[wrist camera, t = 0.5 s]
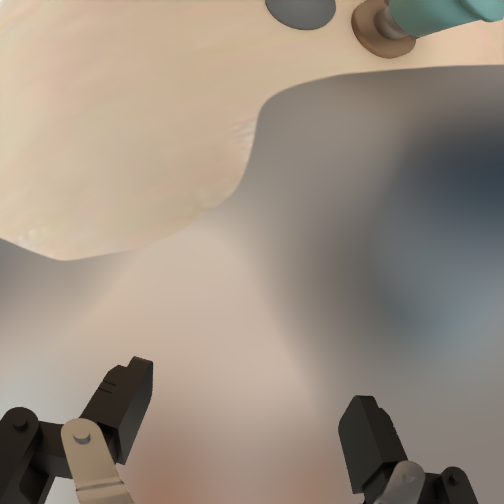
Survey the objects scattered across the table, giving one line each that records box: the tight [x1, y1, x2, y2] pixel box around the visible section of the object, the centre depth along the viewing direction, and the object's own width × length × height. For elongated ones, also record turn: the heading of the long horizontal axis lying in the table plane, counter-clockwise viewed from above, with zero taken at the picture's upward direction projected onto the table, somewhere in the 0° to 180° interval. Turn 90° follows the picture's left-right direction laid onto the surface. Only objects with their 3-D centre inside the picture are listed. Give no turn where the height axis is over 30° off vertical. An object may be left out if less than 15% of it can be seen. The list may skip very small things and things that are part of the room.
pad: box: [266, 0, 336, 30], centre depth 24 cm, size 8×8×1 cm
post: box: [351, 0, 420, 58], centre depth 22 cm, size 8×8×7 cm
